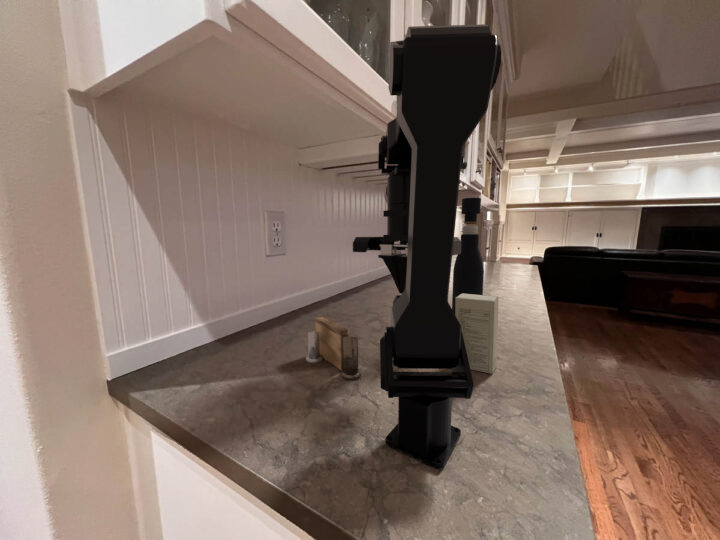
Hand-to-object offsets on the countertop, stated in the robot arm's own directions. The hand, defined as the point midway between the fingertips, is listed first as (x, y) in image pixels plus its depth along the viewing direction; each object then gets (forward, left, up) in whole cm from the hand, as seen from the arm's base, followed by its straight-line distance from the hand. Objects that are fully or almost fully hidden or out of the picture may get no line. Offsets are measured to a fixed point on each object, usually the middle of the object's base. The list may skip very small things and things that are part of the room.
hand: (402, 293), depth 52 cm
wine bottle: (+20, -6, -12) cm, 24 cm away
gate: (-9, +9, -12) cm, 18 cm away
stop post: (-10, +12, -12) cm, 20 cm away
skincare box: (+4, -12, -12) cm, 18 cm away
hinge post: (-11, +3, -12) cm, 17 cm away
